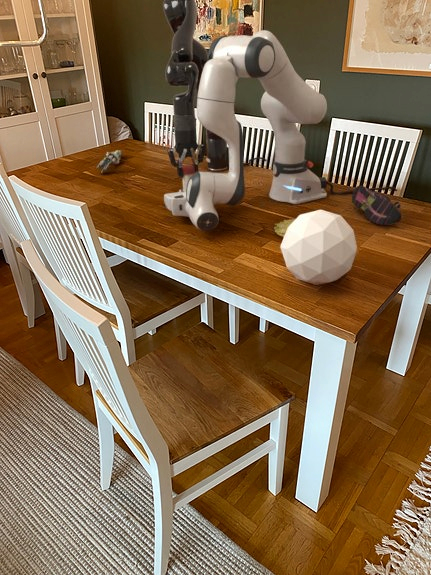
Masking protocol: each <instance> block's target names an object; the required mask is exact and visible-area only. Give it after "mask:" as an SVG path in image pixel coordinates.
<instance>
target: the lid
mask: <svg viewBox="0 0 431 575" xmlns="http://www.w3.org/2000/svg"><path fill="white" fill-rule="evenodd" d="M182 169H183V174H185V175H189V174H193V173H195V167H194V166H193V165H191V164H189V165H187V164H185V165H182Z"/></svg>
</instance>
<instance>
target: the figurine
mask: <svg viewBox="0 0 431 575" xmlns="http://www.w3.org/2000/svg"><path fill="white" fill-rule="evenodd" d="M122 153H123V152H122V150H115V151H111V152H110V151H107V152H106V153H105V155H106V156H104V157H103V158H102V159H101V161H100V162H99V163H98V165H97V167H96V169H97V170H100V173H101V174H104V173H105V172H106V171H107V170H108V169H109V168H110V167H111V166H112V165H119V164H120V160H121V158H122V157H123V154H122Z"/></svg>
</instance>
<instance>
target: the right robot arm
mask: <svg viewBox="0 0 431 575" xmlns="http://www.w3.org/2000/svg"><path fill="white" fill-rule="evenodd" d="M207 53H208V61H207V62H206V64H205V65H204V68H203V71H202V75H201V79H200V84H199V90H198V93H197V99H196V118H197V120H198V121H199V123H200V125H202V127H204V128H205V130H206V129H207V130H209V131H211V132H212V133H214V134H216V135H218V136H220V137H221V138H223V139H224V140H225V141H226V142H227V147H229V168H228V172H227V173H222V172H213V171H199V170H198V171H197V172H196V173H194V174H193V175H192V176H191V178H190V179H189V180H188V183H187V188H186V191H185V192H184V190H183V189H179V190H178V191H177V192H170V193H169V192H168V193H165V194H163V203H164V206H165V207H166V209H167V210H168V211H170V212H171V214H172V216H174V217H187V218H189V220H190V221H191V223H192V224H193V225H194V227H195V228H196V229H198V230H200V231H202V232H203V231H204V232H208V231H211V230H213V229H215V228H216V227H217V226H218V224H219V221H220V220H219V214H218V212H217V210H216V208H215V206H214V205H218V204H219V205H221V204H222V205H226V206H237V205H238V204H239V203H241V202H242V201H243V199H244V198H245V195H246V184H245V172H244V170H245V169H244V166H245V165H244V164H243V163H244V134H243V132H244V131H243V127H242V123H241V122H240V121H239V120H238V119H237V117H236V114H235V100H236V92H237V91H236V88H237V82H238V79H240V78H252V79H258V81H259V83H260V84H261V87H262V88H263V89H264V92H263V94H262V97H261V99H260V109H261V112H262V114H263V115H264V116H265V117H266V119H267V120H268V122H269V124H270V126H271V129H272V131H273V136H274V159H273V164H272V182H271V187H270V190H269V193H268V196H269V198H270V199H271V200H274V201H277V202H283V203H289V204H293V205H298V204H303V203H307V202H311V201H312V202H313V201H316V200H320V199H324V198H327V196H328V193H327V191H326V190H325V189H327V188H328V186H330V189H329V192H330V194H332V195H347V194H353V192H354V190H355V189H352V190H345V191H340V192H335V191H334V185H333V184H332V183H331V182H329V181H328V180H327V178H326V176H319V177H318V176H317V175H316V174H315V173H314V172H313V171H311V170H310V169H311V168H313V166H314V162H312V161H310V160H308V159H306V158H305V156H306V143H307V142H306V138H305V136H304V134H302V133H301V131H299V129H298V126H297V124H299V125H317V124H319V123H320V122H322V120H323V119H324V118H325V116H326V113H327V111H328V103H327V99H326V97H325V95H324V94H323V93H320V92H318V91H316V90H315V89H314V88H312V87H311V86H310V85H309V84H308V83H307V82H306V81H305V80H304V79H303V78H302V77H301V76H300V75H299V74H298V73H297V72H296V70H295V69H294V66H293V65H292V63H291V61H290V59H289V57H288V54H287V53H286V50H285V49H284V47H283V45H282V43H281V42H280V41H279V39H278V38H277V37H276V36H275V35H274V34H273V33H272V32H271V31H269V30H265V29H263V30H259V31H256V32H255V33H254V34H252V35H244V34H239V35H222V36H218V37H216V38H214V39H213V41H212V42H211V44H210V46H209V47H208V50H207ZM309 168H310V169H309ZM366 188H367V187H366ZM367 189H368V190H371V191H384V190H393V191H394V192H398V189H397V188H396V187H394V186H384V187H369V188H367Z"/></svg>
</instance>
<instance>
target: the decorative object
mask: <svg viewBox="0 0 431 575" xmlns="http://www.w3.org/2000/svg"><path fill="white" fill-rule="evenodd" d="M295 219H296V218H292V219H283V221H279V223H274V227H273V229H274V233H276V234H277V236H279V237H282V238H284V236H285V233H286V231H287V228H288V227H289V226H290V225H291V224H292V223H293V222H294V220H295Z"/></svg>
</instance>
